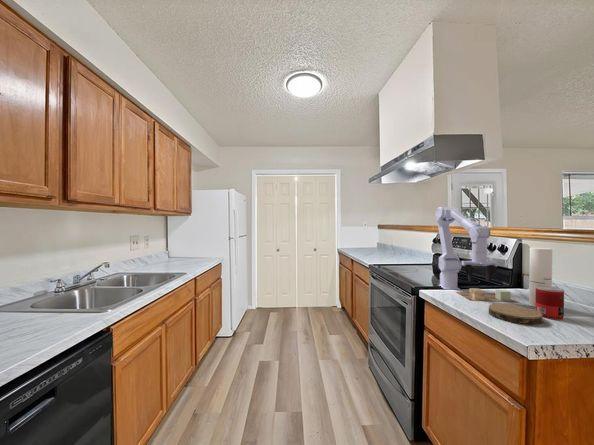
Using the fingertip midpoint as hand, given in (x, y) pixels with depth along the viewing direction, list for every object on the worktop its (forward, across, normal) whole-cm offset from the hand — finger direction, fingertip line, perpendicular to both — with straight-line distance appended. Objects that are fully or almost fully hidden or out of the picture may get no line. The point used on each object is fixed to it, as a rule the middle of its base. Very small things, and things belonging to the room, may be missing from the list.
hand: (479, 281), depth 126 cm
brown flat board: (+8, +4, +3) cm, 10 cm away
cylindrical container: (+9, +20, -8) cm, 23 cm away
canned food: (+9, +15, -20) cm, 26 cm away
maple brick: (+8, -1, 0) cm, 8 cm away
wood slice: (+9, +1, -23) cm, 25 cm away
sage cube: (+8, +10, 0) cm, 13 cm away
